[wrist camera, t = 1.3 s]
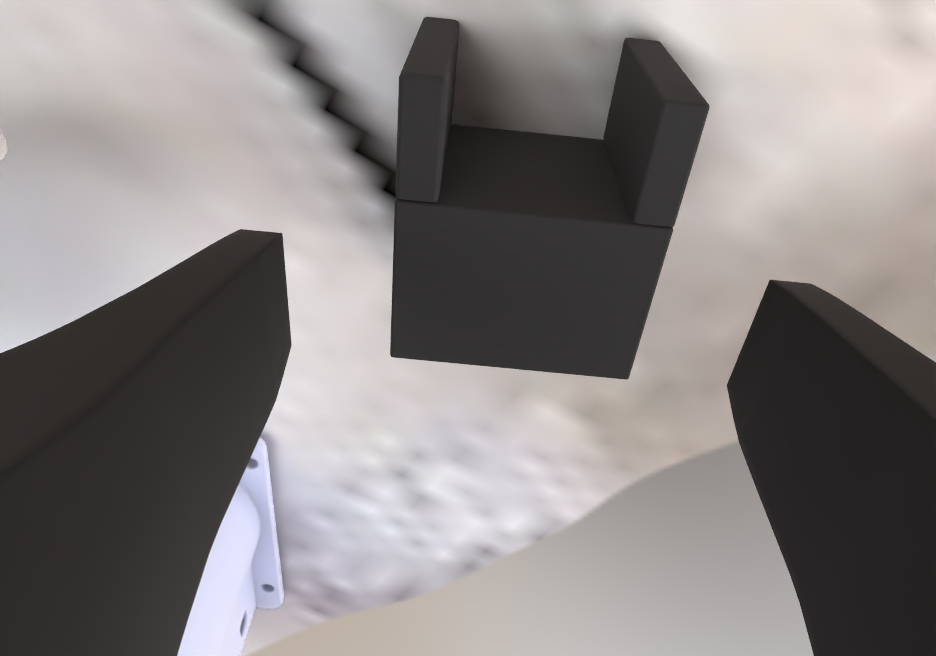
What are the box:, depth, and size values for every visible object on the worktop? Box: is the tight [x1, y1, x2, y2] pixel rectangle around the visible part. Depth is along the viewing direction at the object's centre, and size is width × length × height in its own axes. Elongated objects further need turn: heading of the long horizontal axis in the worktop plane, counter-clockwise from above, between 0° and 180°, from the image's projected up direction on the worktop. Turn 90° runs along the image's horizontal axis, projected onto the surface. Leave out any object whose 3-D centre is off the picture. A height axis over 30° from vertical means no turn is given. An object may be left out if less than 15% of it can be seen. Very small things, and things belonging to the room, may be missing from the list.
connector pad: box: [390, 17, 709, 379], centre depth 15 cm, size 6×5×4 cm
